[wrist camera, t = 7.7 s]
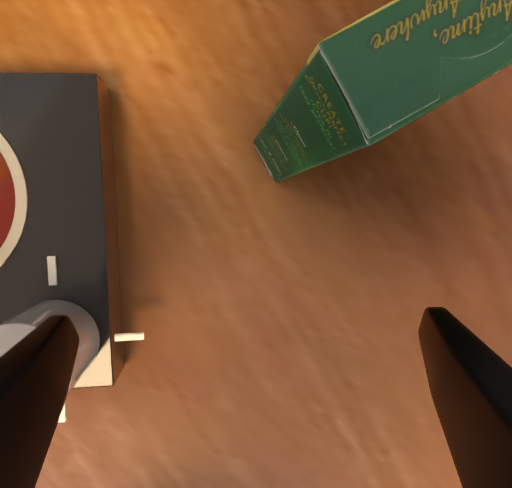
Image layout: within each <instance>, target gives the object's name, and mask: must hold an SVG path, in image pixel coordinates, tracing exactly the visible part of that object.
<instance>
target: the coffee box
mask: <svg viewBox="0 0 512 488" xmlns="http://www.w3.org/2000/svg"><path fill="white" fill-rule="evenodd" d="M511 64H512V0H394V1H392V2H390V3H388V4H386V5H384V6H382V7H381V8H379V9H377V10H375V11H373V12H372V13H370V14H368V15H366V16H364V17H363V18H361V19H359V20H357V21H355V22H354V23H352V24H350V25H348V26H347V27H345V28H343V29H341V30H340V31H338V32H336V33H334V34H333V35H331V36H329V37H327V38H325V39H323V40H322V41H320V42H319V43H318V44H317V46H316V47H315V49H314V51H313V52H312V53H311V55H310V56H309V58H308V59H307V61H306V63H305V65H304V66H303V68H302V69H301V71H300V73H299V74H298V76H297V77H296V79H295V80H294V82H293V83H292V85H291V86H290V88H289V89H288V90H287V92H286V94H285V95H284V97H283V98H282V100H281V101H280V103H279V104H278V106H277V107H276V109H275V110H274V112H273V113H272V114H271V116H270V118H269V119H268V121H267V122H266V124H265V125H264V127H262V129H261V131H260V132H259V134H258V135H257V137H256V138H255V139H254V141H253V144H254V146H255V148H256V150H257V152H258V153H259V155H260V157H261V159H262V160H263V162H264V165H265V166H266V168H267V170H268V172H269V174H270V176H271V177H272V178H273V179H274V181H275V182H280V181H282V180H284V179H287V178H290V177H292V176H294V175H297V174H299V173H301V172H304V171H306V170H309V169H311V168H313V167H316V166H319V165H321V164H324V163H326V162H329V161H332V160H334V159H337V158H340V157H342V156H344V155H347V154H350V153H352V152H355V151H357V150H360V149H363V148H366V147H368V146H370V145H373V144H375V143H376V142H378V141H380V140H382V139H383V138H385V137H387V136H389V135H390V134H392V133H393V132H395V131H397V130H399V129H400V128H402V127H404V126H406V125H408V124H410V123H411V122H413V121H415V120H416V119H418V118H420V117H421V116H423V115H425V114H426V113H428V112H430V111H432V110H433V109H435V108H437V107H438V106H440V105H442V104H443V103H445V102H447V101H449V100H450V99H452V98H454V97H455V96H457V95H459V94H461V93H462V92H464V91H466V90H468V89H469V88H471V87H473V86H475V85H476V84H478V83H480V82H481V81H483V80H485V79H486V78H488V77H490V76H492V75H493V74H495V73H497V72H499V71H501V70H502V69H504V68H505V67H507V66H509V65H511Z"/></svg>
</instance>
